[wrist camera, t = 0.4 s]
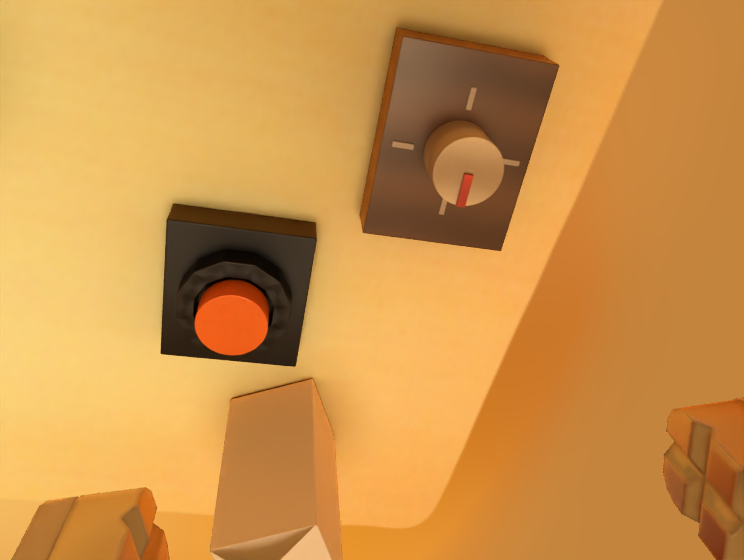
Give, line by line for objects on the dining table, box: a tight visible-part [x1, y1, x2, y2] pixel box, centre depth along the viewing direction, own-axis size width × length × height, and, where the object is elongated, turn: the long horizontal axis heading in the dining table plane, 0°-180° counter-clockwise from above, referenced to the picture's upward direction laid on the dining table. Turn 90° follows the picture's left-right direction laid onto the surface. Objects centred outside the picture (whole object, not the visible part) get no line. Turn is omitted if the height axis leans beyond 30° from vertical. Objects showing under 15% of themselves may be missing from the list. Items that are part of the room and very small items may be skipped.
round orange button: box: [195, 279, 269, 355], centre depth 45 cm, size 5×5×2 cm
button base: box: [161, 204, 317, 367], centre depth 47 cm, size 11×10×4 cm
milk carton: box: [210, 379, 342, 560], centre depth 48 cm, size 7×7×19 cm
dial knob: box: [423, 120, 504, 208], centre depth 41 cm, size 4×4×4 cm
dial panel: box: [360, 28, 559, 251], centre depth 44 cm, size 13×10×3 cm
